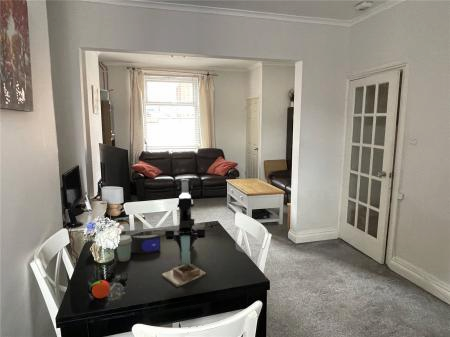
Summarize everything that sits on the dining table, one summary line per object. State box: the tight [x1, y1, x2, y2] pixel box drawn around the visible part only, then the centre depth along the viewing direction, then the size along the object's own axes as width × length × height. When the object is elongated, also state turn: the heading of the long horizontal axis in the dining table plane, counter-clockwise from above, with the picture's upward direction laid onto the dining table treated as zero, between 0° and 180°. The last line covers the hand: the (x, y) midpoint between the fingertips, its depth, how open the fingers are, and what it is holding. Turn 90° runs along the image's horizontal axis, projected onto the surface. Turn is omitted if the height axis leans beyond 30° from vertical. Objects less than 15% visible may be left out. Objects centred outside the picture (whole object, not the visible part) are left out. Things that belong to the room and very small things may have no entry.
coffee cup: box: [116, 234, 132, 262], centre depth 156 cm, size 8×8×12 cm
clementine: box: [89, 279, 111, 299], centre depth 122 cm, size 8×7×7 cm
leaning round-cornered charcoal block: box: [131, 234, 162, 255], centre depth 164 cm, size 16×5×9 cm, turn 98°
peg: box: [180, 235, 191, 265], centre depth 136 cm, size 4×4×13 cm
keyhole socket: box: [161, 262, 207, 288], centre depth 140 cm, size 16×13×4 cm
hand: (185, 251), depth 135 cm, fingers closed on peg, 4 cm apart
